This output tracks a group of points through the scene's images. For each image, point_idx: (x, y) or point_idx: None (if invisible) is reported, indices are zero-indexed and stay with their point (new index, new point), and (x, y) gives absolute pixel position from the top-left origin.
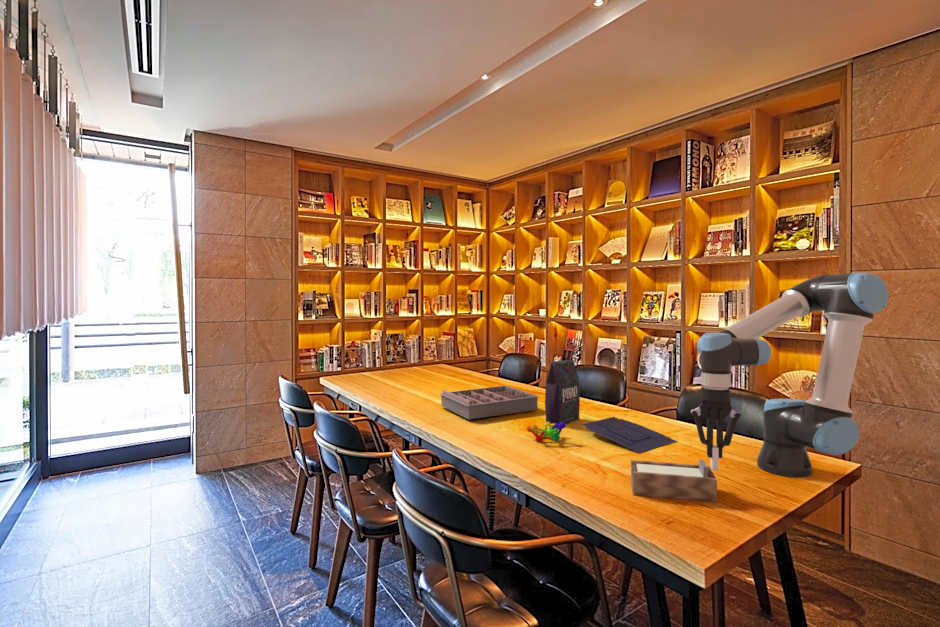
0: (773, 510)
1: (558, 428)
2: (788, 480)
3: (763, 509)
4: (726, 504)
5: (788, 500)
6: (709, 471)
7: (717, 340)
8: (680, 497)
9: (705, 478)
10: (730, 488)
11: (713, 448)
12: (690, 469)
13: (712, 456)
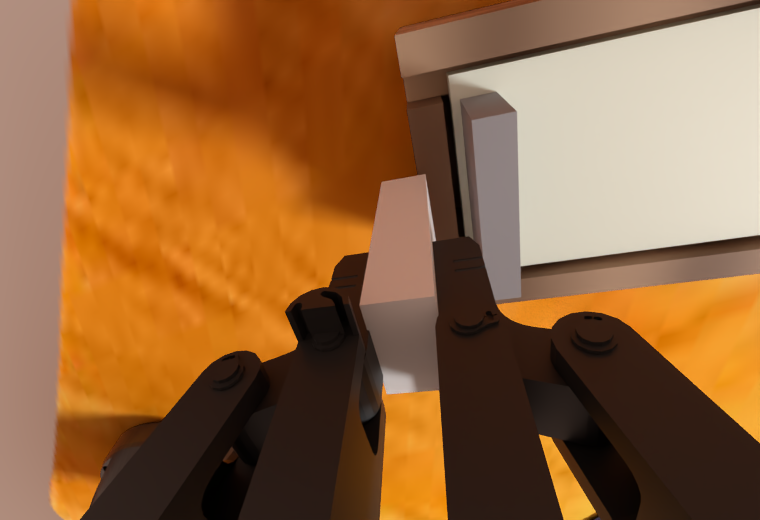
0: (122, 63)
1: None
2: (161, 397)
3: (165, 52)
4: (347, 31)
5: (107, 224)
6: (441, 214)
7: None
8: None
9: (491, 21)
10: (337, 263)
11: (426, 287)
12: (566, 230)
13: (431, 240)
